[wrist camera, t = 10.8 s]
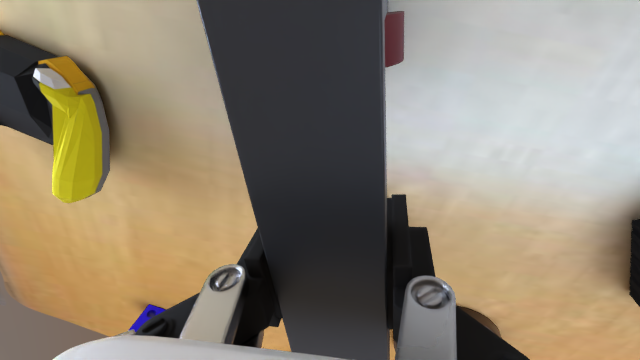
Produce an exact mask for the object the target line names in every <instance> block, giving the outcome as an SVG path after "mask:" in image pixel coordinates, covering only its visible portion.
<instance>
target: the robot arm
mask: <svg viewBox="0 0 640 360" xmlns="http://www.w3.org/2000/svg"><path fill="white" fill-rule="evenodd" d="M281 318H282V314H281V311H280V307H279V303H278V300H277V296H276V292H275V288H274V285H273V281H272V277H271V274H270V270H269V266H268V263H267V259H266V255H265V252H264V248H263V244H262V240H261V237H260V233H259V229H257V230H256V232H255V234H254V235H253V237H252V239H251V241H250V242H249V244H248V246H247V247H246V249H245V251H244V253H243V254H242V256H241V258H240V260H239V261H238V263H237V264H229V265H224V266H222V267H219V268H218V269H216V270H214V271H213V272H212V273H211V274H210V275H209V276H208V278H207V279H206V281H205V283H204V285H203V287H202V289H201V292H200V293H198V294H196V295H194V296H192V297H190V298H188V299H186V300H185V301H183V302H181V303H179V304H177V305H175V306H173V307H171V308H169V309H167V310H165V311H163V312H161V313H160V314H158V315H156V316H154V317H152V318H150V319H149V320H147V321H146V322H145V323H144V324H143V325H142V326H140V328H139V329H138V330H137V332H135V331H134V329H132V330H130V331H127V332H124V333H121V334H119V335H116V336H113V337H110V338H103V339H99V340H96V341H91V342H87V343H84V344H81V345H78V346H76V347H73V348H71V349H69V350H67V351H65V352H63V353H61V354H60V355H58V356H57V357H55V358H54V359H53V360H351V359H343V358H335V357H328V356H320V355H312V354H304V353H296V352H288V351H280V350H271V349H263V348H261V346H262V341H263V336H264V329H266V328H267V327H269V326H273V327H278V326H279V323H280V321H281ZM387 319H388V329H393V339H394V341H395V342H396V343H397V349H396V355H395V360H530V359H528V358H527V357H526V356H525V355H523V354H522V353H521V352H519V351H518V350H516V349H515V348H514V347H512V346H511V345H510V344H508V343H507V342H506V341H504V340H503V339H501V338H500V337H499V336H497V335H496V334H495V333H493V332H492V331H491V330H489V329H488V328H486V327H485V326H484V325H482V324H481V323H480V322H478V321H477V320H476V319H474V318H473V317H471V316H470V315H469V314H467V313H466V312H465V311H463V310H462V309H461V308H459V307H458V306H456V298H455V293H454V291H453V290H452V288H451V286H449V285H448V284H447V283H446V282H445V281H443V280H441V279H439V278H436V277H435V272H434V266H433V260H432V254H431V249H430V243H429V237H428V231H427V228H426V227H409V226H408V215H407V204H406V195H392V198H387Z"/></svg>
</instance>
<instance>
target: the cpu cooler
mask: <svg viewBox="0 0 640 360" xmlns="http://www.w3.org/2000/svg"><path fill="white" fill-rule="evenodd" d="M632 221H633V222H632V226H633V227H632V228H633V229H632V230H633V231H632V232H631V236H632V237H631V238H632V240H631V241H632V242H631V246H632V247H631V252H632V253H631V254H632V255H631V257H632V258H631V259H630V260H631V261H630V263H631V267H630V269H631V270H630V272H631V274H630V275H631V277H630V285H631V286H630V292H629V293H630V296H631V297H632V298H633V299H634V300H635V302H636V303H637V304H638V305H639V306H640V219H638V220H632Z"/></svg>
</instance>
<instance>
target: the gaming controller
mask: <svg viewBox="0 0 640 360" xmlns="http://www.w3.org/2000/svg"><path fill="white" fill-rule="evenodd" d="M0 125H3V126H8V127H10V128H12V129H15V130H17V131H20V132H22V133H25V134H27V135H29V136H32V137H34V138H37V139H39V140H41V141H44V142H46V143H49V144H51V145H53V151H54V163H53V171H52V193H53V194H54V195H55V196H56V197H57V198H59V199H60V200H61V201H62V202H65V203H72V202H76V201H79V200H82V199H85V198H87V197H90V196H91V195H93V194H95V193H97V192H99V191H101V189H102V187H103V184H104V182H105V180H106V178H107V175H108V173H109V171H110V148H109V127H108V123H107V119H106V115H105V111H104V107H103V102H102V99H101V97H100V94H99V92H98V91H97V88H96V86H95V84H94V83H93V82H92V81H91V80H90V79H89V78H88V77H87V76H86V75H85V74H83V73H82V71H81V70H80V69H79V68H78V67H77V65H76V64H75V63H74V62H73V61H72V60H71V59H70V58H69V57H68V56H63V57H58V56H56V55H53V54H51V53H49V52H46V51H44V50H41V49H39V48H36V47H34V46H32V45H29V44H27V43H24V42H22V41H20V40H17V39H15V38H12V37H10V36H8V35H4V34H3V33H2V32H1V31H0Z"/></svg>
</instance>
